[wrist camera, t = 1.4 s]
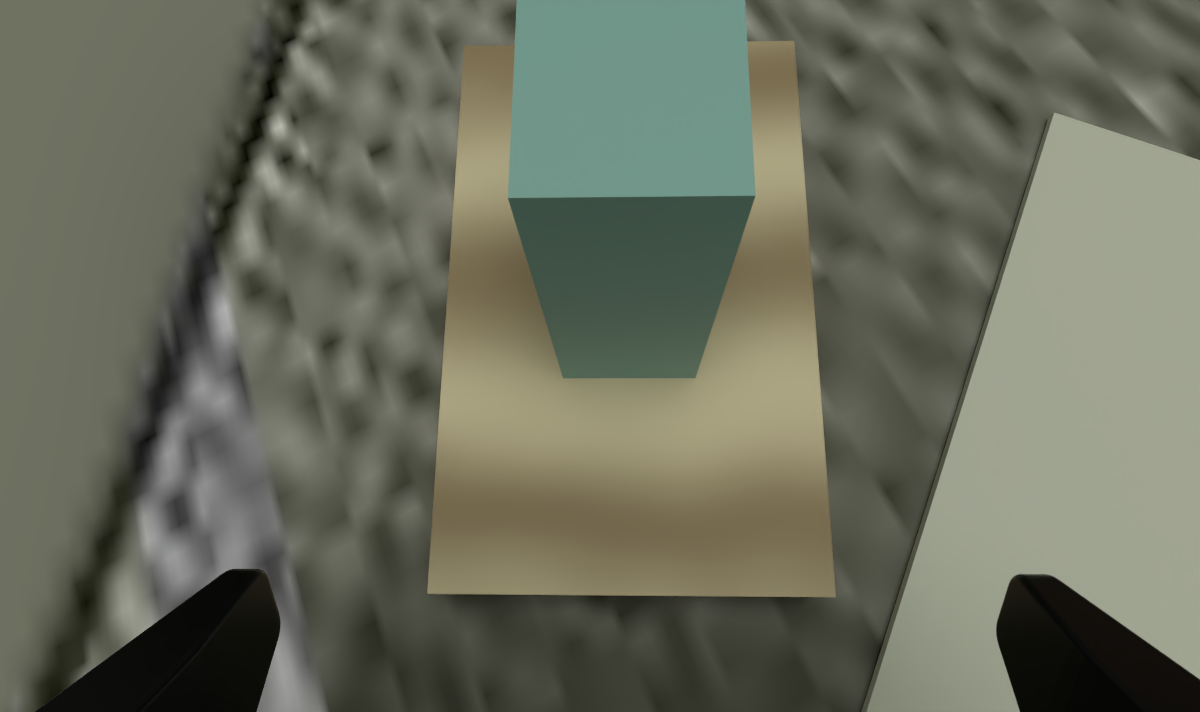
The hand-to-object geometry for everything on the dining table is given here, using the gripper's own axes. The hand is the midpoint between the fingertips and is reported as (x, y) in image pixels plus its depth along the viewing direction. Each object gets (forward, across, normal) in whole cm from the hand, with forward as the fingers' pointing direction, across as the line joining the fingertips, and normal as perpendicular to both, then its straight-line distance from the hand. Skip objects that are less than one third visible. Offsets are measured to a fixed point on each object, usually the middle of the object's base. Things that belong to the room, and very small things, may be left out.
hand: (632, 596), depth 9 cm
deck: (+15, 0, +4) cm, 15 cm away
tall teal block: (+13, 0, +2) cm, 13 cm away
